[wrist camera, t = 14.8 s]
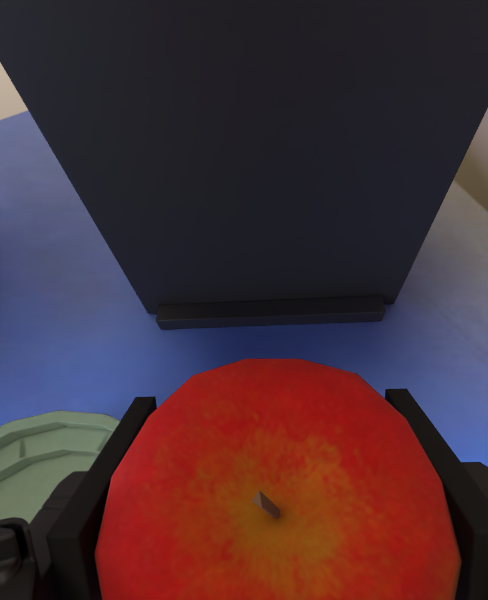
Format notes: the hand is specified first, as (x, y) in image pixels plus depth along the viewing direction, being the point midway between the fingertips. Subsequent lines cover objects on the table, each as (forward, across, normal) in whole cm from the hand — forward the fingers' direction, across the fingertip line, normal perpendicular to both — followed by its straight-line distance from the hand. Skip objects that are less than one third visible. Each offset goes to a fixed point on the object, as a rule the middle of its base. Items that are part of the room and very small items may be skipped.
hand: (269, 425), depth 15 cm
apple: (+1, 0, -5) cm, 5 cm away
